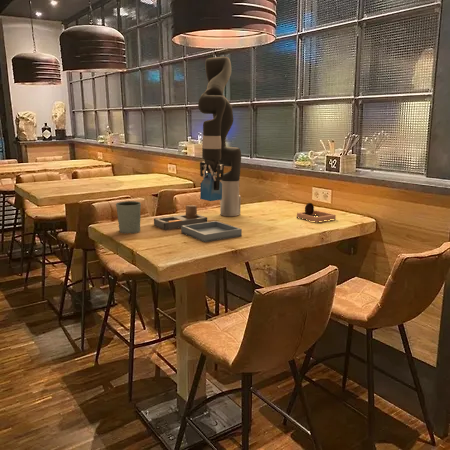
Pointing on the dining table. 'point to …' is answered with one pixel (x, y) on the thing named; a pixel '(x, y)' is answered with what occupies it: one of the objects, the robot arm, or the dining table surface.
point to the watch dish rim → (323, 217)
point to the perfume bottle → (210, 189)
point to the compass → (310, 210)
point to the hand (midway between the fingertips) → (211, 188)
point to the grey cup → (129, 216)
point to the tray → (211, 231)
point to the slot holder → (177, 221)
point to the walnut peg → (191, 211)
